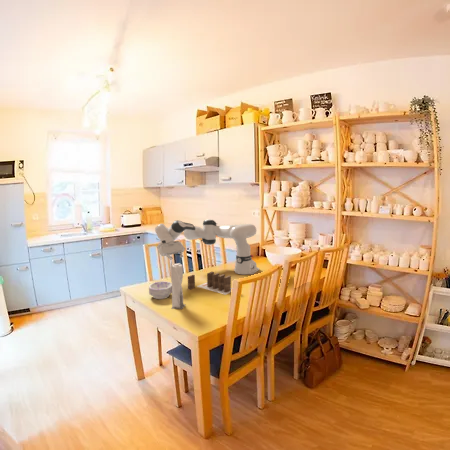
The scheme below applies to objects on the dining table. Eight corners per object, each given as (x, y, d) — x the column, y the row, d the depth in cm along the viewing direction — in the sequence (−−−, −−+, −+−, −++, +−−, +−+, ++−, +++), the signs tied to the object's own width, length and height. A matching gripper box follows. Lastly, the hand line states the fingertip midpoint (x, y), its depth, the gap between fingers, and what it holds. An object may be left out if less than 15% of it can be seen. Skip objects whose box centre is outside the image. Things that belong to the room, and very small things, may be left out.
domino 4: (218, 290, 214) (218, 276, 212) (223, 288, 218) (222, 274, 216) (220, 290, 213) (220, 276, 211) (225, 288, 217) (224, 274, 215)
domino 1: (188, 290, 217) (187, 276, 215) (193, 288, 221) (192, 274, 219) (189, 291, 216) (189, 277, 214) (195, 289, 219) (194, 275, 218)
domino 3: (212, 288, 217) (212, 274, 215) (217, 286, 221) (217, 272, 219) (214, 289, 216) (214, 275, 214) (219, 287, 220) (219, 273, 218)
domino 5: (224, 291, 211) (224, 277, 209) (228, 289, 215) (228, 275, 213) (226, 292, 210) (226, 278, 208) (230, 290, 214) (230, 276, 212)
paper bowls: (149, 302, 197) (149, 290, 196) (148, 293, 211) (148, 282, 210) (174, 299, 201) (173, 287, 200) (171, 291, 215) (171, 280, 214)
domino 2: (207, 287, 220) (207, 273, 219) (212, 285, 224) (211, 271, 222) (209, 287, 219) (209, 273, 217) (214, 285, 223) (213, 272, 221)
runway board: (207, 283, 231) (207, 281, 231) (236, 290, 215) (236, 289, 215) (196, 287, 222) (196, 286, 222) (225, 296, 206) (225, 294, 206)
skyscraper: (168, 308, 188) (167, 263, 183) (173, 303, 195) (171, 259, 191) (182, 309, 186) (181, 263, 182) (186, 304, 194) (185, 260, 190)
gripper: (177, 243, 240) (186, 258, 235) (155, 247, 225) (163, 263, 220) (181, 238, 236) (190, 253, 231) (158, 242, 221) (167, 258, 216)
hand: (176, 258), depth 225 cm, fingers open, 8 cm apart
